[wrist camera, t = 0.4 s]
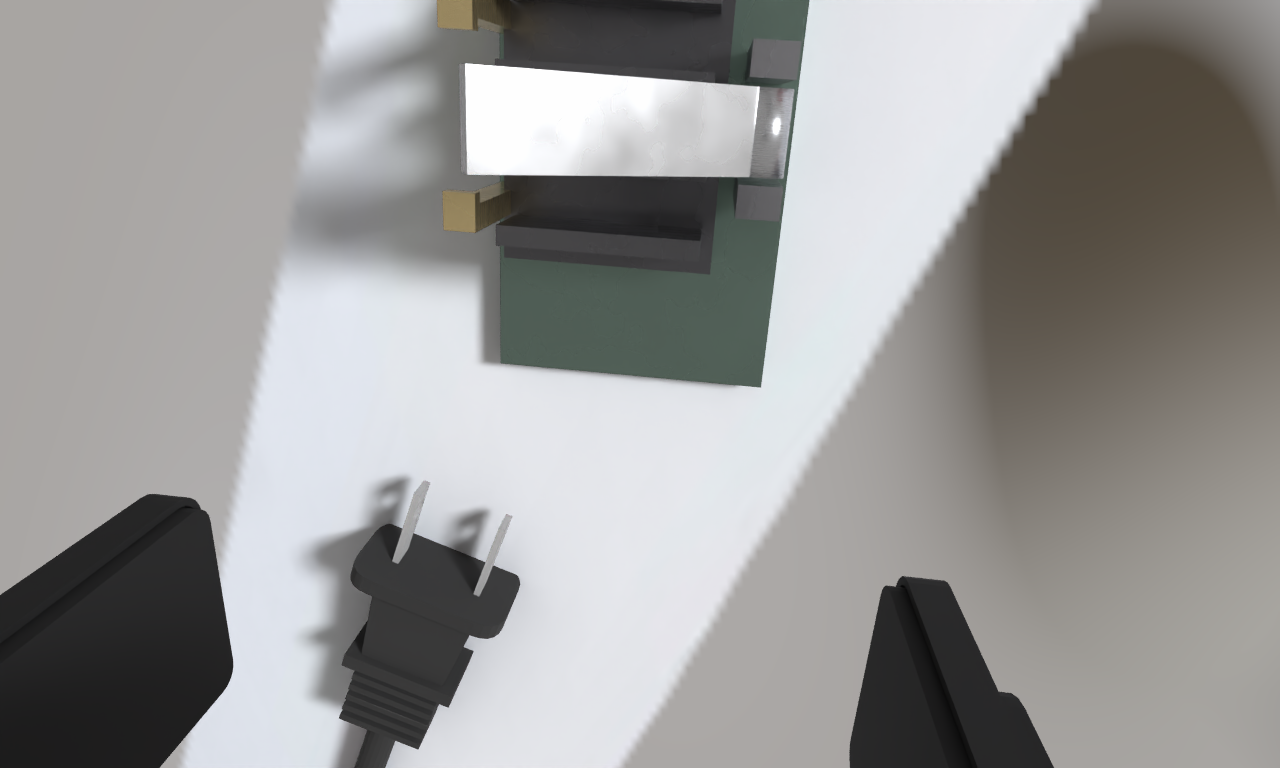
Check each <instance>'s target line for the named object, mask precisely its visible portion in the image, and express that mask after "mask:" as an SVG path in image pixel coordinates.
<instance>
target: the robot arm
mask: <svg viewBox="0 0 1280 768" xmlns="http://www.w3.org/2000/svg"><path fill="white" fill-rule="evenodd" d="M232 672H233V657H232V651H231V645H230V639H229V632H228V626H227V620H226V614H225V608H224V602H223V596H222V589H221V583H220V577H219V571H218V565H217V559H216V552H215V547H214V540H213V534H212V528H211V522H210V518H209V515H208V514H207V512H206V511H203V510H201V508H200V506H199V504H198V503H197V502H196V501H195V500H194V499H191V498H186V497H177V496H168V495H159V494H149V495H146V496H144V497H142V498H140V499H139V500H137V501H136V502H135V503H133V504H132V505H130V506H129V507H127V508H126V509H124V510H123V511H121V512H120V513H118V514H117V515H116V516H114V517H113V518H111V519H110V520H109V521H107V522H105V523H104V524H103V525H101V526H100V527H98V528H97V529H95V530H94V531H92V532H91V533H90V534H88V535H87V536H85V537H84V538H82V539H81V540H79V541H78V542H76V543H75V544H74V545H72V546H71V547H69V548H68V549H66V550H65V551H64V552H62V553H61V554H59V555H58V556H56V557H55V558H53V559H52V560H50V561H49V562H47V563H46V564H45V565H43V566H42V567H40V568H39V569H37V570H36V571H35V572H33V573H32V574H30V575H29V576H27V577H26V578H24V579H23V580H21V581H20V582H19V583H17V584H16V585H14V586H13V587H11V588H10V589H8V590H7V591H5V592H4V593H3V594H1V595H0V768H160V766H161V765H162V764H163V763H164V761H165V760H166V759H167V758H168V757H169V756H170V754H171V753H172V752H173V751H174V750H175V749H176V747H177V746H178V745H179V744H180V743H181V741H182V740H183V739H184V738H185V737H186V735H187V734H188V733H189V732H190V731H191V730H192V728H193V727H194V726H195V725H196V724H197V722H198V721H199V720H200V719H201V718H202V716H203V715H204V714H205V713H206V712H207V710H208V709H209V708H210V707H211V706H212V705H213V703H214V702H215V701H216V700H217V699H218V697H219V696H220V695H221V694H222V693H223V691H224V690H225V688H226V687H227V685H228V683H229V681H230V679H231V675H232ZM850 768H1054V767H1053V765H1052V763H1051V761H1050V759H1049V757H1048V755H1047V753H1046V751H1045V749H1044V747H1043V744H1042V742H1041V740H1040V738H1039V736H1038V734H1037V732H1036V730H1035V728H1034V726H1033V724H1032V722H1031V720H1030V718H1029V716H1028V714H1027V712H1026V710H1025V708H1024V706H1023V705H1022V703H1021V702H1020V700H1019V699H1018V698H1017V697H1016V696H1014V695H1013V694H1012V693H1005V692H998V690H997V687H996V685H995V683H994V681H993V679H992V677H991V674H990V672H989V670H988V668H987V666H986V663H985V661H984V659H983V657H982V655H981V653H980V650H979V648H978V646H977V644H976V642H975V640H974V638H973V635H972V633H971V631H970V629H969V626H968V624H967V622H966V620H965V618H964V616H963V614H962V611H961V609H960V607H959V605H958V603H957V601H956V598H955V596H954V594H953V592H952V589H951V587H950V586H949V584H948V583H947V582H946V581H941V580H932V579H923V578H914V577H904V576H902V577H901V578H900V579H899V580H898V583H897V585H896V587H894V586H885V587H884V588H883V590H882V593H881V597H880V602H879V606H878V612H877V616H876V621H875V625H874V630H873V636H872V640H871V645H870V650H869V654H868V659H867V664H866V669H865V673H864V678H863V683H862V688H861V693H860V697H859V702H858V707H857V712H856V717H855V722H854V726H853V731H852V736H851V741H850Z"/></svg>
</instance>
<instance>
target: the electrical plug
mask: <svg viewBox="0 0 1280 768" xmlns="http://www.w3.org/2000/svg"><path fill="white" fill-rule="evenodd" d="M429 485H430V483H429V482H427V481H423V482H422V484H421V485H420V486H419V488H418V489H417V490H416V492H415V493H414V495H413V498H412V501H411V504H410V508H409V511H408V514H407V517H406V520H405V523H404V526H403V529H402V528H399V527H397V526H394V525H392V524H387V525H384V526H382V527H380V528H379V529H378V530H377V531H376V532H375V533H374V535H373V536H372V537H371V539H370V540H369V541H368V542H367V544H366V545H365V546H364V548H363V549H362V550H361V551H360V553H359V554H358V556H357V557H356V559H355V562H354V565H353V568H352V572H351V582H352V584H353V585H354V586H355V587H356V588H357V589H359V590H360V591H362V592H364V593H366V594H368V595H371V596H372V601H371V606H370V611H369V617H368V621H367V622H366V624H365V625H364V627H363V628H362V630H361V631H360V633H359V634H358V636H357V637H356V639H355V640H354V642H353V643H352V645H351V646H350V648H349V649H348V651H347V652H346V654H345V656H344V659H343V662H342V666H345V667H347V668H350V669H352V670H355V672H354V673H353V676H352V679H353V680H352V682H351V683H350V685H349V689H350V690H349V691H348V693H347V695H346V698H345V699H346V701H345V702H344V704H343V707H342V709H343V710H342V712H341V714H340V717H339V719H342V720H344V721H347V722H349V723H352V724H355V725H357V726H360V727H362V728H365V729H367V733H366V736H365V739H364V742H363V745H362V748H361V750H360V753H359V756H358V759H357V762H356V765H355V768H385V767H386V764H387V761H388V759H389V756H390V753H391V751H392V748H393V745H394V743H395V741H398V742H400V743H403V744H405V745H408V746H410V747H413V748H416V749H419V747H420V745H421V743H422V741H423V738H424V736H425V734H426V732H427V730H428V728H429V726H430V724H431V721H432V719H433V717H434V715H435V713H436V710H437V707H438V705H439V704H441V705H443V706H446V707H448V708H449V705H450V703H451V701H452V699H453V697H454V694H455V692H456V690H457V688H458V686H459V683H460V681H461V679H462V677H463V675H464V672H465V670H466V668H467V666H468V664H469V661H470V659H471V656H472V654H473V651H472V650H469V649H467V648H464V647H463V646H464V644H465V643H466V641H467V639H468V637H469V635H471V636H474V637H477V638H484V639H488V638H492V637H495V636H496V635H497V634H499V633H500V631H501V629H502V628H503V626H504V623H505V621H506V619H507V616H508V614H509V611H510V609H511V607H512V604H513V602H514V600H515V597H516V595H517V592H518V590H519V586H520V581H519V578H518V576H517V575H515V574H513V573H510V572H508V571H505V570H503V569H500V568H498V567H496V566H493V564H494V562H495V559H496V557H497V554H498V552H499V549H500V546H501V544H502V541H503V539H504V536H505V534H506V531H507V529H508V526H509V524H510V521H511V519H512V516H510V515H508V514H506V516H505V517H504V519H503V521H502V523H501V525H500V527H499V529H498V532H497V534H496V537H495V540H494V542H493V545H492V547H491V550H490V552H489V555H488V558H487V560H486V562H483V561H481V560H478V559H476V558H473V557H471V556H468V555H466V554H463V553H461V552H459V551H456V550H454V549H451V548H449V547H446V546H444V545H441V544H439V543H436V542H434V541H431V540H429V539H426V538H424V537H422V536H419V535H417V534H414V530H415V527H416V524H417V521H418V518H419V515H420V512H421V509H422V506H423V503H424V500H425V497H426V494H427V491H428V488H429Z"/></svg>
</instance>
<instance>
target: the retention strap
mask: <svg viewBox="0 0 1280 768" xmlns="http://www.w3.org/2000/svg"><path fill="white" fill-rule="evenodd" d="M459 92H460V141H461V173H464V174H467V175H559V176H674V177H753V178H764V179H783V177H784V169H785V161H786V153H787V145H788V137H789V129H790V121H791V113H792V104H793V96H794V89H786V88H772V87H756V86H743V85H730V84H718V83H705V82H692V81H680V80H667V79H654V78H642V77H629V76H616V75H604V74H591V73H578V72H566V71H553V70H540V69H528V68H515V67H503V66H490V65H477V64H459Z"/></svg>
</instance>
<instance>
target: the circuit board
mask: <svg viewBox="0 0 1280 768" xmlns="http://www.w3.org/2000/svg"><path fill="white" fill-rule="evenodd" d="M808 7H809V0H437V19H438V27H439V28H442V29H454V30H471V31H478V27H481V28H484V29H487V30H491V31H494V32H497V33H500V59H495V66H503V67H515V68H528V69H540V70H553V71H566V72H578V73H591V74H604V75H616V76H629V77H642V78H654V79H667V80H680V81H692V82H705V83H718V84H730V85H743V86H756V87H772V88H786V89H794V96H793V104H792V113H791V121H790V129H789V137H788V145H787V153H786V161H785V169H784V177H783V179H764V178H753V177H674V176H559V175H500V182H499V183H496V184H493V185H490V186H487V187H485V188H482V189H479V190H476V191H461V190H445V191H442V192H443V227H444V230H447V231H460V232H472V233H476V232H478V231H480V230H482V229H483V228H485V227H487V226H489V225H491V224H493V223H495V222H497V221H499V220H500V223H499V224H497V225H496V245H498V246H500V292H501V363H505V364H515V365H526V366H537V367H547V368H558V369H569V370H580V371H590V372H601V373H612V374H623V375H633V376H644V377H655V378H666V379H676V380H687V381H698V382H709V383H719V384H730V385H741V386H752V387H761V382H762V374H763V366H764V358H765V350H766V342H767V334H768V326H769V318H770V310H771V302H772V294H773V286H774V278H775V270H776V262H777V254H778V246H779V238H780V230H781V222H782V214H783V206H784V198H785V190H786V182H787V174H788V166H789V158H790V150H791V142H792V134H793V126H794V118H795V110H796V102H797V95H798V87H799V79H800V71H801V63H802V55H803V47H804V39H805V31H806V23H807V15H808Z"/></svg>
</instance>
